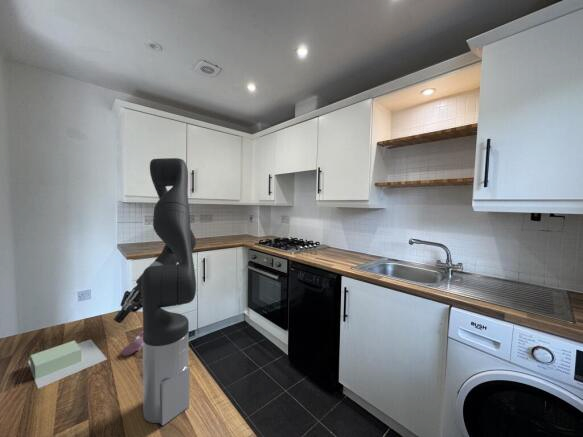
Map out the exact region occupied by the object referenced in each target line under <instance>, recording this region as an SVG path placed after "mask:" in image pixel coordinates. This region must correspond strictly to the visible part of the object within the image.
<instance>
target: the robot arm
mask: <svg viewBox="0 0 583 437" xmlns="http://www.w3.org/2000/svg"><path fill="white" fill-rule="evenodd" d="M188 170H189V168H188V166H187V162H185V160H184V159H182V158H177V157H173V158H172V157H170V158H153V159H151V160H150V162H149V172H150V173H149V175H150V177H151V181H152V184H153V187H154V189H155V191H156V194H157V196H158V198H159V200H158V201H157V202H156V203H155V205H154V207H153V208H154V209H153V219H152V227H153V230H154V232H155V233H156V235H157V236H158V237H159V239H160V240H161V241H163V243H164V244H165V245H164V247H163V248H162V251H161V253H160V254H159V255H158V256H157V257H156V258H155V260H154V261H153V262H152V263H150V264H149V266H148V267H146V268H144V270H143V273H141V275H140V276H139V277H138V278H137V279H136V281H135V284H137V285H136V286H135V287H133V288H132V289H131V290H130V291H128V290H126V291H125V292H124V294H123V296H122V299H121V302H120V306H121V310H119V311H118V313H117V314H116V315H115V316H114V318H113V321H115V322H116V323H118V324H121V323H122V322H124V320H125V319H126V318H127V316H128V315H130V314H132V313H134V314H135V313H136V312H138V311H139V310H141V309H142V323H143V324H142V330H143V347H142V405H143V406H142V411H143V412H142V415H143V418H144V419H145V420H146V421H147V422H149V423H153V424H160V425H161V426H165V424H167V423H168V422H170V421H171V420H174V418H175V417H177V416H179V415H180V414H181V413H183V412H184V411H185V410H186V409H188V408H189V407H190V389H191V388H190V385H191V384H190V383H191V382H190V381H191V380H190V379H191V378H190V377H191V376H190V375H191V373H190V371H191V369H190V367H189V331H190V330H189V328H190V327H189V326H190V325H189V320H188V318H187V316H186V315H184V314H181V313H178V312H177V313H176V312H172V311H169V310H165V309H163V308H169V307H175V306H181V305H186V304H190V303H191V302H193V301H194V300H195V296H196V292H197V279H196V271H195V264H194V258H193V250H194V249H195V248H196V244H197V241H196V240H197V239H196V237H195V234H194V233H193V230H192V228H191V215H190V204H189V196H188V195H189V194H188V192H189V191H188V187H189V171H188ZM167 187H170V188H169V190H168V189H167Z"/></svg>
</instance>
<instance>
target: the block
mask: <svg viewBox="0 0 583 437" xmlns="http://www.w3.org/2000/svg"><path fill="white" fill-rule="evenodd" d="M29 358H30V359H29V361H30V366H29V368H30V367H31V368H30V370H32V371H31V374H32V373H33V374H32V376H33V375H34V377H35V379H38V378H41V377H43V376H46V375H48V374H51V373H53V372H56V371H58V370H61V369H63V368H66V367H68V366H71V365H73V364H76V363H78V362H81V348H80V347H79V346H78V343H77V341H76V340H72V341H68V342H66V343H63V344H60V345H57V346H54V347H51V348H48V349H46V350H42V351H39V352H36V353H33V354H30V357H29ZM34 377H33V378H34ZM35 379H34V380H35Z"/></svg>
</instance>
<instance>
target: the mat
mask: <svg viewBox="0 0 583 437" xmlns="http://www.w3.org/2000/svg"><path fill="white" fill-rule="evenodd" d="M77 344H78V346H79V347H80V348H81V362H78V363H76V364H73V365H71V366H68V367H66V368H63V369H61V370H58V371H56V372H53V373H51V374H48V375H46V376H43V377H41V378H38V379H35V377H34V375H33V373H32V370H31V367H30V360H28V361H27V362H28V365H29V369H30V370H31V371H30V372H31V374H32V377H33V379H34V382H35V384H36V387H37V389H41V388H43V387H46V386H47V385H50V384H53V383H54V382H57V381H59V380H62V379H64V378H67V377H69V376H71V375H74V374H76V373H78V372H80V371H83V370H85V369H88V368H90V367H92V366H95V365H97V364H100V363H102V362H105V361H107V360H108V358H107V356H106V355H104V353H103V352H102V351H101V350H100V349H99V347H98V346H97V345H96V344H95V342H94V341H93V340H92V339H87V340H84V341H81V342H78V343H77Z"/></svg>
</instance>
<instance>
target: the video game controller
mask: <svg viewBox="0 0 583 437" xmlns="http://www.w3.org/2000/svg"><path fill="white" fill-rule="evenodd" d="M141 349H143V329H142V330H141V331H140V332H139V333H138V335H136V336H135V337H134V339H133V340H132V341H131V342H130V344H128V345H127V346H126V347H124V348H123V349H122V351H121V355H122V356H130V355H132V354H134V353H135V352H139V351H140V350H141Z"/></svg>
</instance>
